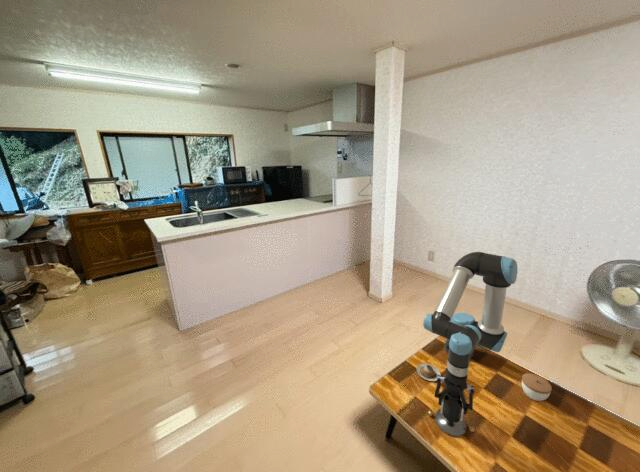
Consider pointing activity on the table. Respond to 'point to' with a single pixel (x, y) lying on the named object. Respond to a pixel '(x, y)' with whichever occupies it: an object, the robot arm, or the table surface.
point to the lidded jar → (536, 387)
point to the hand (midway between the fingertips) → (451, 414)
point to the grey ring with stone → (428, 371)
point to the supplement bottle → (452, 406)
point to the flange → (450, 425)
